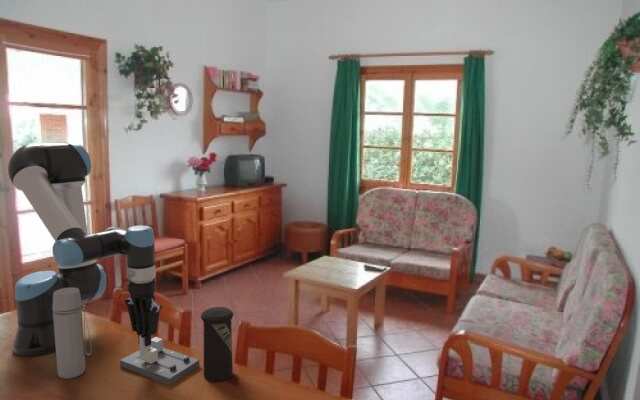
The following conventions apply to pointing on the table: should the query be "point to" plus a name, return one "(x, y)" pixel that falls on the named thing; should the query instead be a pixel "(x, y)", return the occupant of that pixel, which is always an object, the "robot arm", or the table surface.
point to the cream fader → (150, 355)
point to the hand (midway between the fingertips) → (145, 354)
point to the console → (161, 365)
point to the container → (217, 344)
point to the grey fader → (157, 344)
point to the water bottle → (69, 332)
